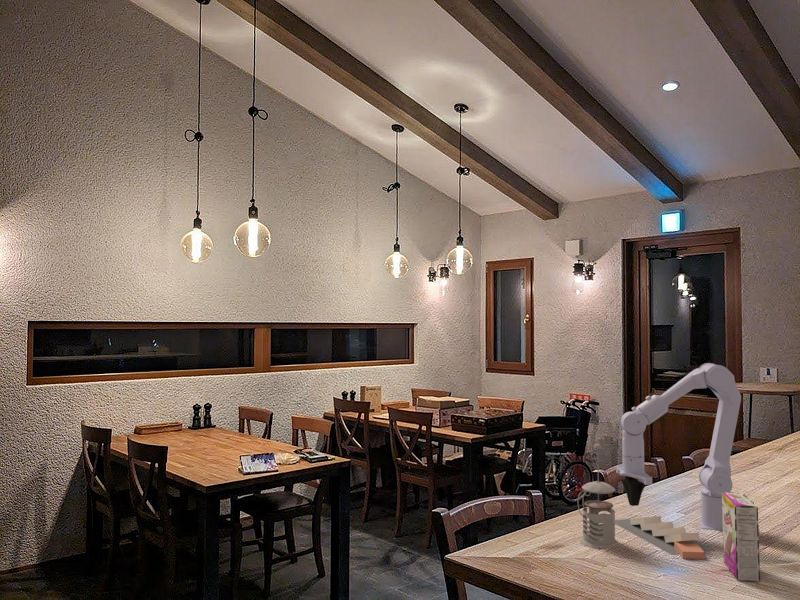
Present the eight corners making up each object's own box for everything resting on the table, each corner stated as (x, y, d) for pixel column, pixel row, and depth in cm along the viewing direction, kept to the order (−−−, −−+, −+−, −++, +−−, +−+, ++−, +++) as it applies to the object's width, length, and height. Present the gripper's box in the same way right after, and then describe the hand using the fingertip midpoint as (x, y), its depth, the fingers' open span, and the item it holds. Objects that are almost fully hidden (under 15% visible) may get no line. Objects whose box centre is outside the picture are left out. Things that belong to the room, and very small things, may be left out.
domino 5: (674, 541, 164) (682, 551, 158) (695, 542, 164) (704, 552, 157) (674, 548, 164) (682, 558, 158) (695, 549, 164) (704, 559, 157)
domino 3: (651, 529, 174) (667, 528, 168) (668, 528, 175) (684, 527, 169) (652, 536, 173) (668, 535, 167) (669, 534, 175) (686, 533, 168)
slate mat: (609, 521, 187) (609, 520, 187) (647, 518, 190) (647, 517, 190) (671, 556, 160) (671, 554, 160) (715, 552, 163) (715, 550, 163)
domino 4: (664, 536, 169) (680, 534, 163) (681, 534, 170) (698, 532, 164) (665, 542, 168) (681, 541, 162) (683, 541, 169) (699, 539, 163)
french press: (598, 551, 164) (597, 448, 164) (566, 538, 174) (564, 441, 175) (628, 545, 168) (626, 444, 169) (594, 532, 178) (593, 437, 179)
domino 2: (640, 524, 179) (655, 523, 172) (656, 522, 180) (672, 521, 174) (641, 530, 178) (656, 529, 172) (658, 529, 179) (673, 528, 173)
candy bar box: (721, 562, 156) (720, 491, 156) (745, 564, 155) (743, 492, 155) (735, 581, 145) (734, 504, 145) (761, 583, 144) (759, 505, 144)
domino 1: (629, 518, 184) (643, 517, 177) (645, 517, 185) (660, 516, 178) (630, 524, 183) (644, 523, 177) (647, 523, 184) (661, 522, 178)
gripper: (606, 451, 192) (607, 499, 192) (635, 461, 178) (636, 513, 178) (628, 450, 194) (629, 497, 194) (658, 460, 180) (659, 511, 180)
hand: (634, 505), depth 186 cm, fingers closed
